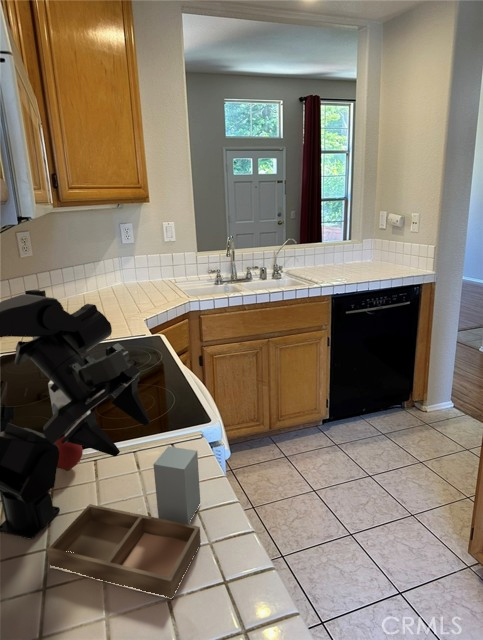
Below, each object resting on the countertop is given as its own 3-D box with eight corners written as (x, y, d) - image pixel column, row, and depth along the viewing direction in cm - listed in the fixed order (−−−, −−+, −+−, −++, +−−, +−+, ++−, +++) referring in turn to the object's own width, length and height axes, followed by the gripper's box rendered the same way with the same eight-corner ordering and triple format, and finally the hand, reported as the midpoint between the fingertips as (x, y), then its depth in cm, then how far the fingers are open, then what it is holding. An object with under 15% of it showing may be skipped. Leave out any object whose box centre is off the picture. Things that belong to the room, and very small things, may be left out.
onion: (74, 457, 85) (69, 420, 82) (90, 467, 81) (85, 429, 79) (45, 471, 80) (39, 433, 78) (61, 483, 77) (55, 443, 75)
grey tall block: (158, 520, 67) (153, 464, 65) (172, 499, 72) (168, 446, 69) (188, 526, 66) (184, 469, 63) (200, 504, 70) (197, 450, 68)
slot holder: (50, 568, 59) (46, 550, 58) (91, 520, 68) (89, 504, 67) (172, 600, 54) (170, 581, 53) (200, 544, 62) (199, 526, 62)
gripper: (48, 355, 56) (132, 441, 56) (125, 317, 73) (189, 384, 73) (9, 404, 60) (87, 484, 60) (90, 358, 78) (150, 420, 77)
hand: (133, 438), depth 68 cm, fingers open, 9 cm apart
